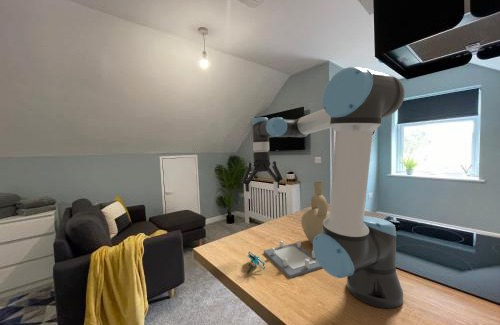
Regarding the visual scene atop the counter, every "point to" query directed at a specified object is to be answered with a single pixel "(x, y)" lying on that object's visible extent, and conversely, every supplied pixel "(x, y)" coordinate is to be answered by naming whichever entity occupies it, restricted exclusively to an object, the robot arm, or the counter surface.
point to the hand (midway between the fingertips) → (263, 196)
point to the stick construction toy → (254, 262)
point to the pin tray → (293, 259)
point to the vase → (315, 214)
